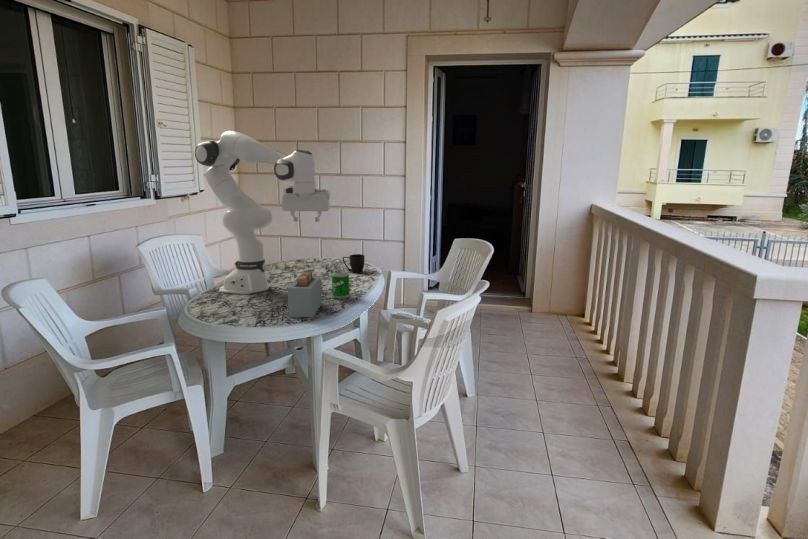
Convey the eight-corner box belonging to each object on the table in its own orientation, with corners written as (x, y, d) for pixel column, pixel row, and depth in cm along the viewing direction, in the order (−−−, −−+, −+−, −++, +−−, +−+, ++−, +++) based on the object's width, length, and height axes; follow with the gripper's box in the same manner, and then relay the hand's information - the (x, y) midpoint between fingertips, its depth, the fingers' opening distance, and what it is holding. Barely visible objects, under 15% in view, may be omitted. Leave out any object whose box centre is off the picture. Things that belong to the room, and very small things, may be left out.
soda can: (341, 294, 207) (340, 268, 205) (352, 297, 203) (352, 271, 200) (328, 297, 202) (328, 271, 199) (340, 301, 197) (339, 274, 194)
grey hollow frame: (289, 317, 175) (287, 288, 173) (300, 303, 193) (299, 276, 190) (312, 318, 175) (310, 288, 172) (321, 304, 193) (320, 276, 190)
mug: (344, 270, 253) (343, 254, 251) (365, 270, 253) (365, 254, 251) (341, 274, 245) (341, 257, 243) (363, 274, 245) (363, 257, 243)
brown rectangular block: (305, 298, 177) (304, 278, 175) (297, 298, 177) (296, 278, 175) (312, 290, 188) (312, 271, 186) (305, 289, 188) (304, 271, 186)
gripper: (330, 189, 194) (331, 220, 198) (284, 188, 195) (285, 220, 198) (327, 189, 188) (329, 222, 191) (279, 189, 189) (281, 222, 192)
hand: (306, 221), depth 195 cm, fingers open, 8 cm apart
